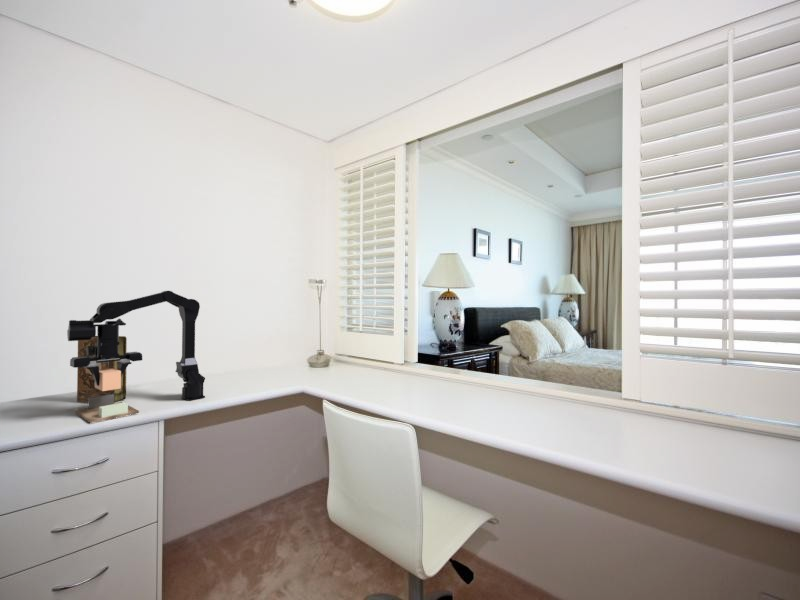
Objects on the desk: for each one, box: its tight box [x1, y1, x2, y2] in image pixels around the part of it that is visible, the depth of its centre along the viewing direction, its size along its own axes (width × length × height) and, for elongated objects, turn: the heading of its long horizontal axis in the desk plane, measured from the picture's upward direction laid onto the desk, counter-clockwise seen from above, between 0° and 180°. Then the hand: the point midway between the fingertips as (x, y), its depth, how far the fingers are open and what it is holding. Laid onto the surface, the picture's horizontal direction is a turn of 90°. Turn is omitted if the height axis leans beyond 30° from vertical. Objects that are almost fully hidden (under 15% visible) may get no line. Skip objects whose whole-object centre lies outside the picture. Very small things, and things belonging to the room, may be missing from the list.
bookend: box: [86, 394, 115, 409], centre depth 128 cm, size 7×2×4 cm, turn 143°
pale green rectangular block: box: [99, 401, 129, 418], centre depth 119 cm, size 7×3×3 cm, turn 143°
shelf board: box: [75, 401, 140, 424], centre depth 124 cm, size 13×18×1 cm
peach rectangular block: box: [95, 368, 121, 391], centre depth 124 cm, size 5×9×6 cm, turn 53°
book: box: [76, 335, 127, 404], centre depth 138 cm, size 16×6×25 cm, turn 84°
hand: (107, 384), depth 124 cm, fingers closed on peach rectangular block, 5 cm apart
